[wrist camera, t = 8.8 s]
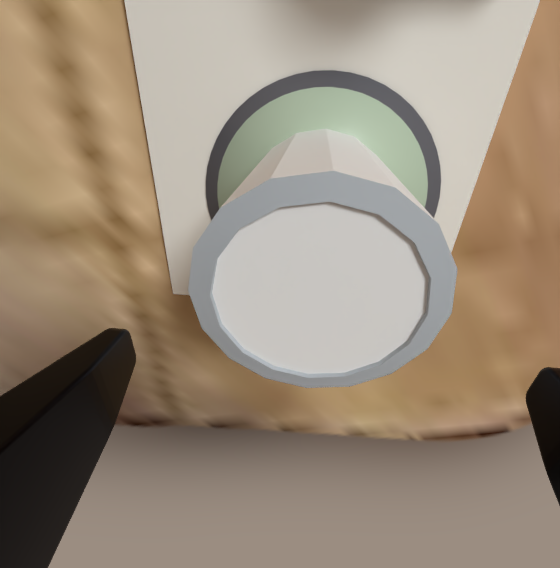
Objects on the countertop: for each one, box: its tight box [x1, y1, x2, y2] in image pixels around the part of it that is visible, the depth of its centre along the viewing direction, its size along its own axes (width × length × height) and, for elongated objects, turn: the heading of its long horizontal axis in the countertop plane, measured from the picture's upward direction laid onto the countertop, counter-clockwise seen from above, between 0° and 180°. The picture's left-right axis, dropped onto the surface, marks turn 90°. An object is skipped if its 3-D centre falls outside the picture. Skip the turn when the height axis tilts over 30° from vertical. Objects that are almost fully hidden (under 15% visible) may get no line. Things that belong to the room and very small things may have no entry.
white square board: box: [124, 0, 540, 295], centre depth 15 cm, size 13×13×1 cm
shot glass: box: [188, 129, 457, 388], centre depth 12 cm, size 7×7×7 cm
